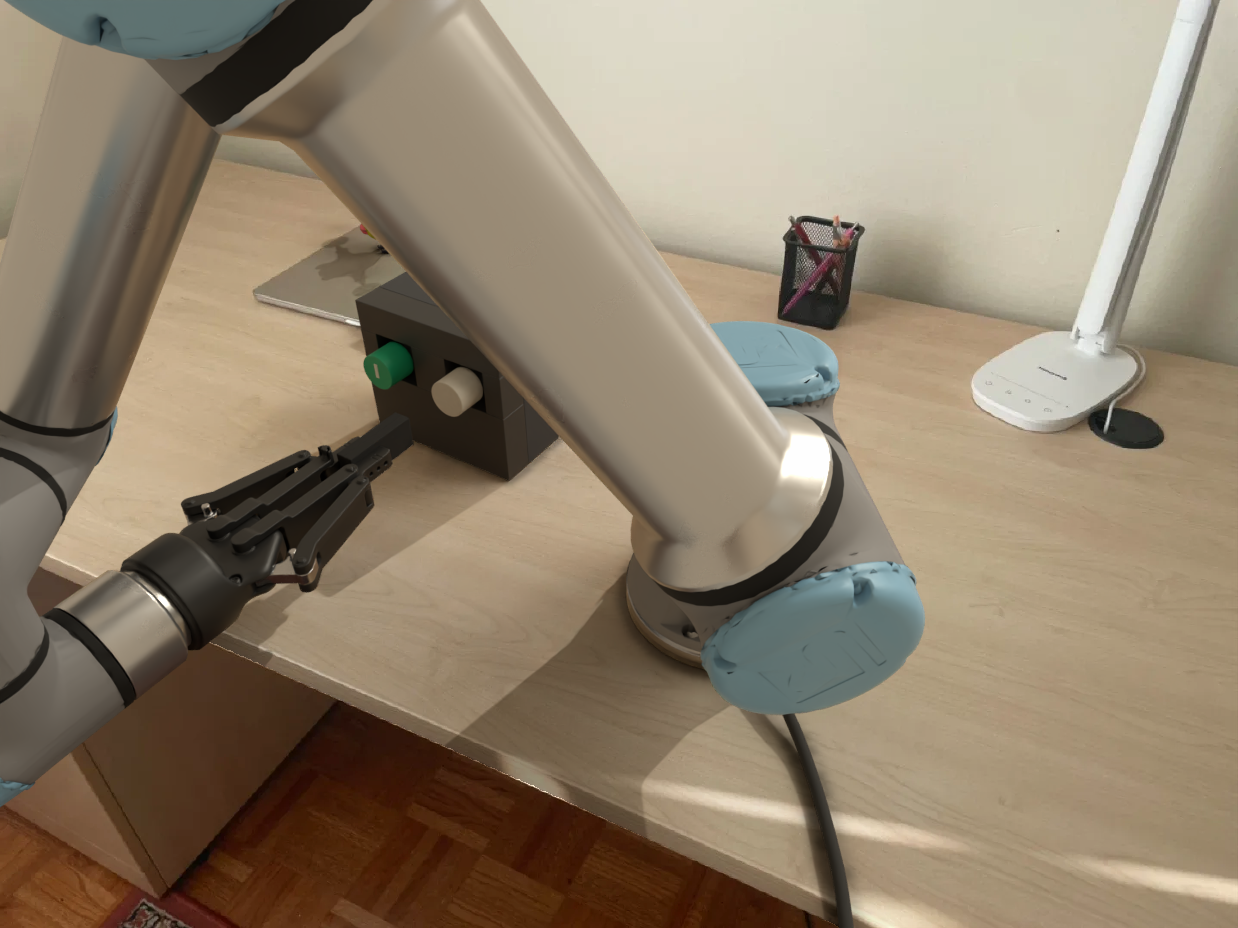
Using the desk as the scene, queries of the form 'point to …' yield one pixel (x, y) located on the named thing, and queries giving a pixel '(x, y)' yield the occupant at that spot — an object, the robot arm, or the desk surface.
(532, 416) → the dock
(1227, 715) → the desk surface
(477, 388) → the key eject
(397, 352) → the key power
